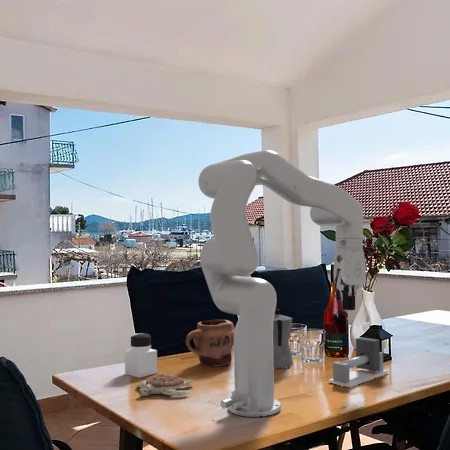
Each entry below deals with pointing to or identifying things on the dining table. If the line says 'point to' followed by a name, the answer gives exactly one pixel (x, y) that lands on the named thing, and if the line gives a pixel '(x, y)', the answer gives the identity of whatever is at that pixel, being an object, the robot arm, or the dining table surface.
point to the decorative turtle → (164, 385)
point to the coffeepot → (281, 341)
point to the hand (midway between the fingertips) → (348, 309)
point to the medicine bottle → (140, 357)
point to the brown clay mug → (212, 342)
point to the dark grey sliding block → (369, 348)
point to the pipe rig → (355, 371)
